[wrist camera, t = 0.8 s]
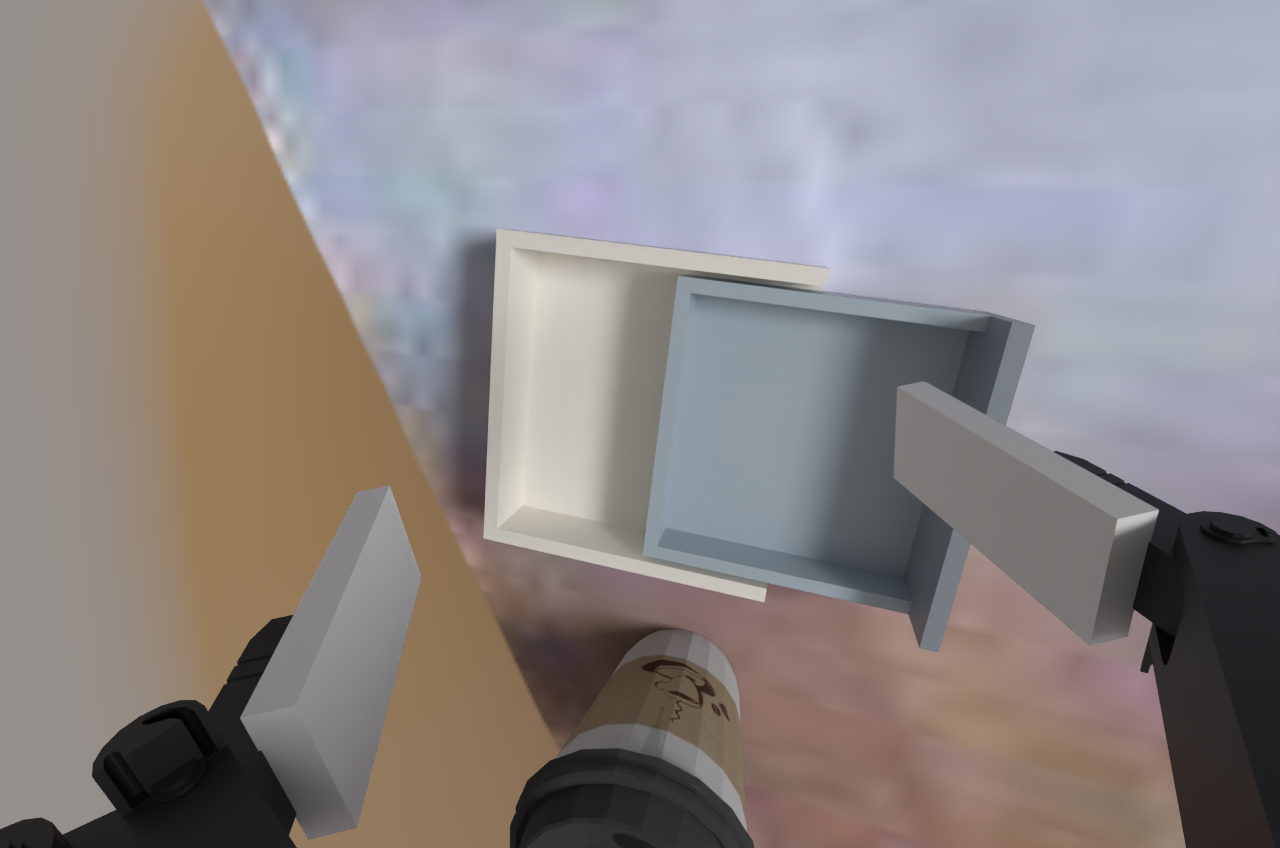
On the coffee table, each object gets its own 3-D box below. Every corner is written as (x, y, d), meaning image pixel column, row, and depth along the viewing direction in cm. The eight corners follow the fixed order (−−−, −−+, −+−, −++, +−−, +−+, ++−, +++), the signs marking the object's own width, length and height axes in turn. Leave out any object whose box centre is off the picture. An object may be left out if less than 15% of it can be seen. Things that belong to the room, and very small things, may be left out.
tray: (689, 274, 32) (666, 278, 26) (988, 312, 29) (1035, 325, 23) (655, 530, 36) (629, 580, 30) (913, 585, 33) (938, 652, 28)
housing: (529, 231, 34) (496, 228, 30) (825, 267, 31) (829, 268, 27) (513, 511, 39) (483, 538, 35) (767, 566, 36) (764, 602, 32)
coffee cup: (794, 633, 36) (795, 870, 22) (742, 777, 40) (714, 1059, 26) (614, 573, 38) (510, 755, 24) (580, 715, 42) (471, 947, 28)
